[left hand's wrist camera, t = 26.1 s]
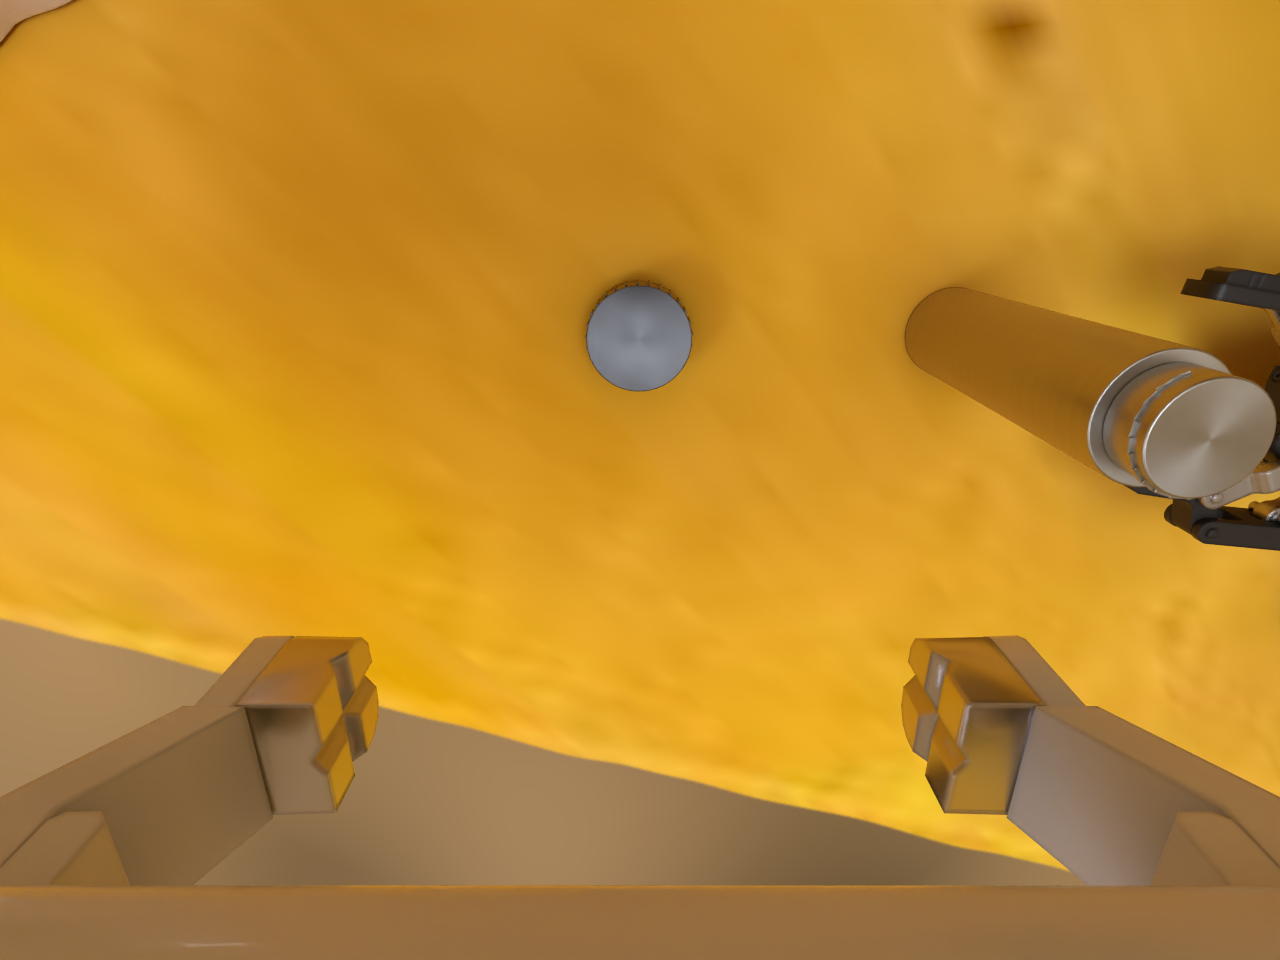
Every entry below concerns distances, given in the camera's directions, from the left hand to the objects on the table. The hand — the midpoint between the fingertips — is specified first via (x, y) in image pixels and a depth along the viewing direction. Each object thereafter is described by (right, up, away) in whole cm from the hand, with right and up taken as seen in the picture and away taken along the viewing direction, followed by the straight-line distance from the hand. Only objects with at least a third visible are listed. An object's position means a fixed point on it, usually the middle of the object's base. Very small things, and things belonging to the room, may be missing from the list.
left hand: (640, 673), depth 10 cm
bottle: (+17, +11, +28) cm, 34 cm away
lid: (0, +10, +26) cm, 28 cm away
